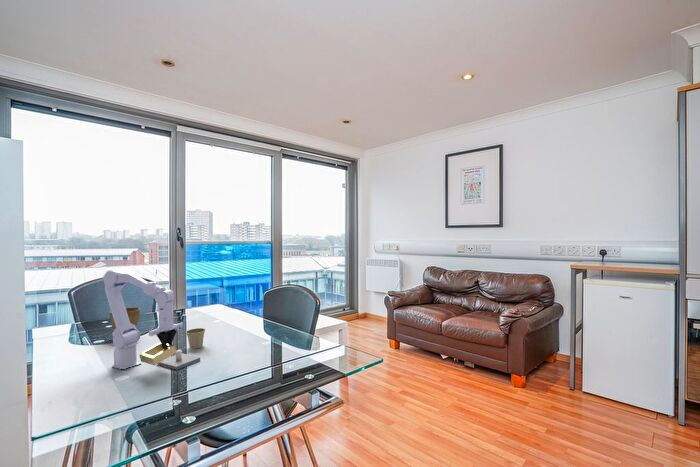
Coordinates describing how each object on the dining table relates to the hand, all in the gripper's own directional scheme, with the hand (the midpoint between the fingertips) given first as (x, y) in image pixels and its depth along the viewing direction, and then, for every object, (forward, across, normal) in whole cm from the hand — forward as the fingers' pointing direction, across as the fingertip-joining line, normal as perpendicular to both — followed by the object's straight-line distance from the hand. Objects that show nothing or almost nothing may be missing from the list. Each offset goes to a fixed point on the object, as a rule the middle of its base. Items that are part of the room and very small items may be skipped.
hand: (166, 347), depth 153 cm
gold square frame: (+3, -4, 0) cm, 5 cm away
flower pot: (+9, +24, +13) cm, 29 cm away
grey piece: (+9, +6, +1) cm, 11 cm away
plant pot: (+9, +16, +66) cm, 69 cm away
